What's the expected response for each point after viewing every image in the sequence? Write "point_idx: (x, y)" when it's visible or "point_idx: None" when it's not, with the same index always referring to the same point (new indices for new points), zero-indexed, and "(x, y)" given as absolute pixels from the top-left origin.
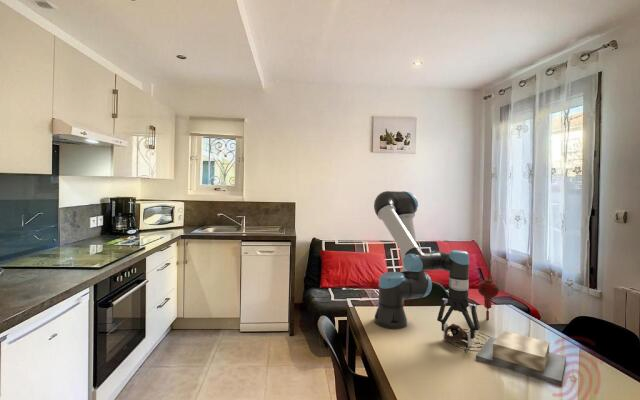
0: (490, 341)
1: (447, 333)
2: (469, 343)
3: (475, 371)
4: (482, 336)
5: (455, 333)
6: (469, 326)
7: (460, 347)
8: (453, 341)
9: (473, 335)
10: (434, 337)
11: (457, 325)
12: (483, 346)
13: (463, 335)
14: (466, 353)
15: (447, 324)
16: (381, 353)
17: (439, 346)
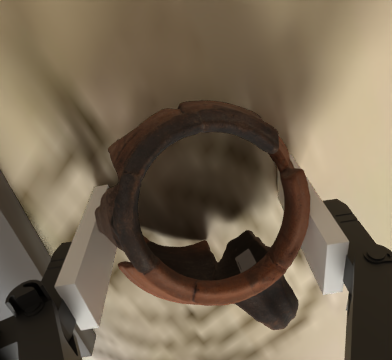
0: None
1: None
2: (90, 202)
3: None
4: (147, 345)
5: (239, 255)
6: (49, 333)
7: None
8: (172, 109)
9: (48, 268)
10: (365, 144)
11: (207, 299)
12: (12, 236)
13: (107, 211)
14: (43, 75)
15: (319, 277)
16: None
17: (270, 6)
